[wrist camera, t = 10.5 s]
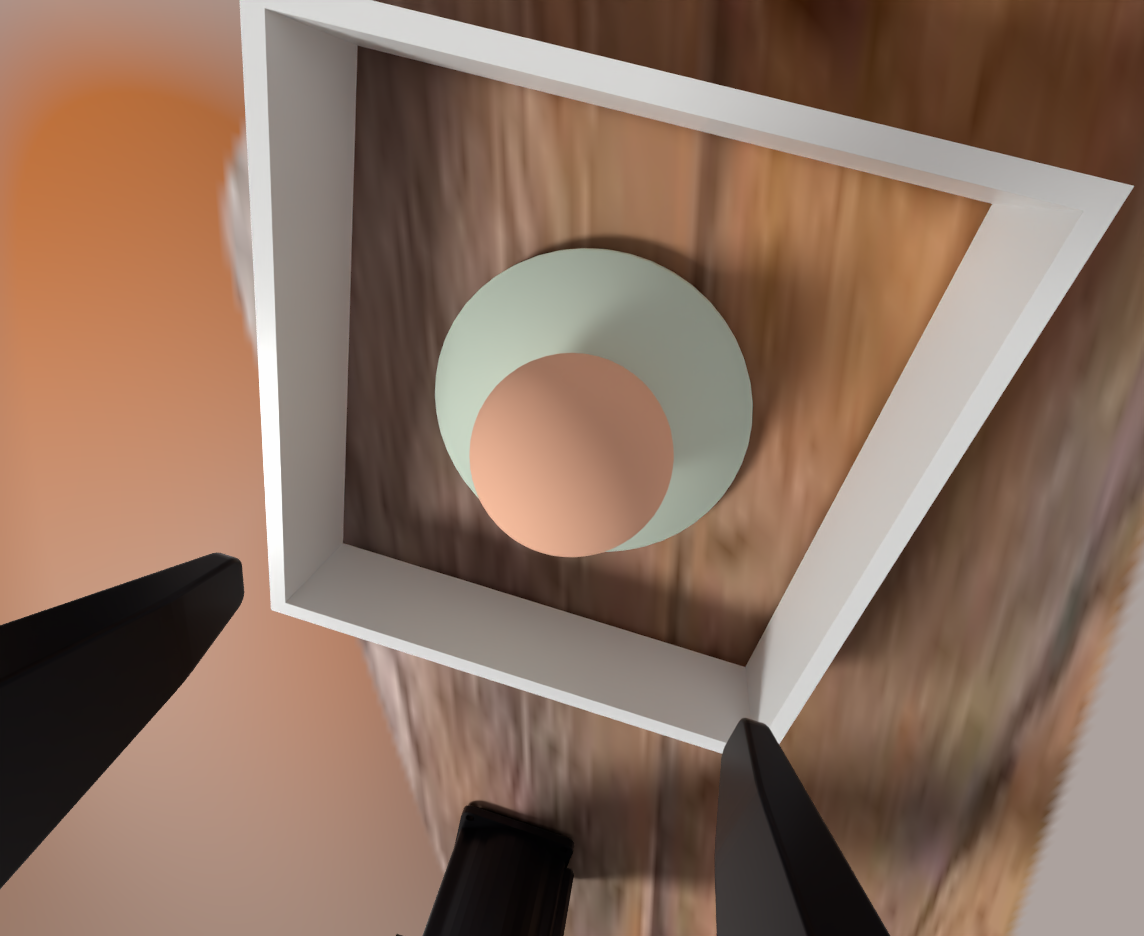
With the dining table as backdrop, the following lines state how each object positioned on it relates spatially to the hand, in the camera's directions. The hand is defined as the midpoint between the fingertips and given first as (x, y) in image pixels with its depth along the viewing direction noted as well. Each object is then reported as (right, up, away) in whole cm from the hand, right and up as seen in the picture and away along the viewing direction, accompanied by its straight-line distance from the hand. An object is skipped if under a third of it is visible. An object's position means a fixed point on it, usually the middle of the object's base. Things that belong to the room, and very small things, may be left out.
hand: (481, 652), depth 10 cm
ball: (+2, +5, +10) cm, 11 cm away
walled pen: (+2, +5, +10) cm, 12 cm away
